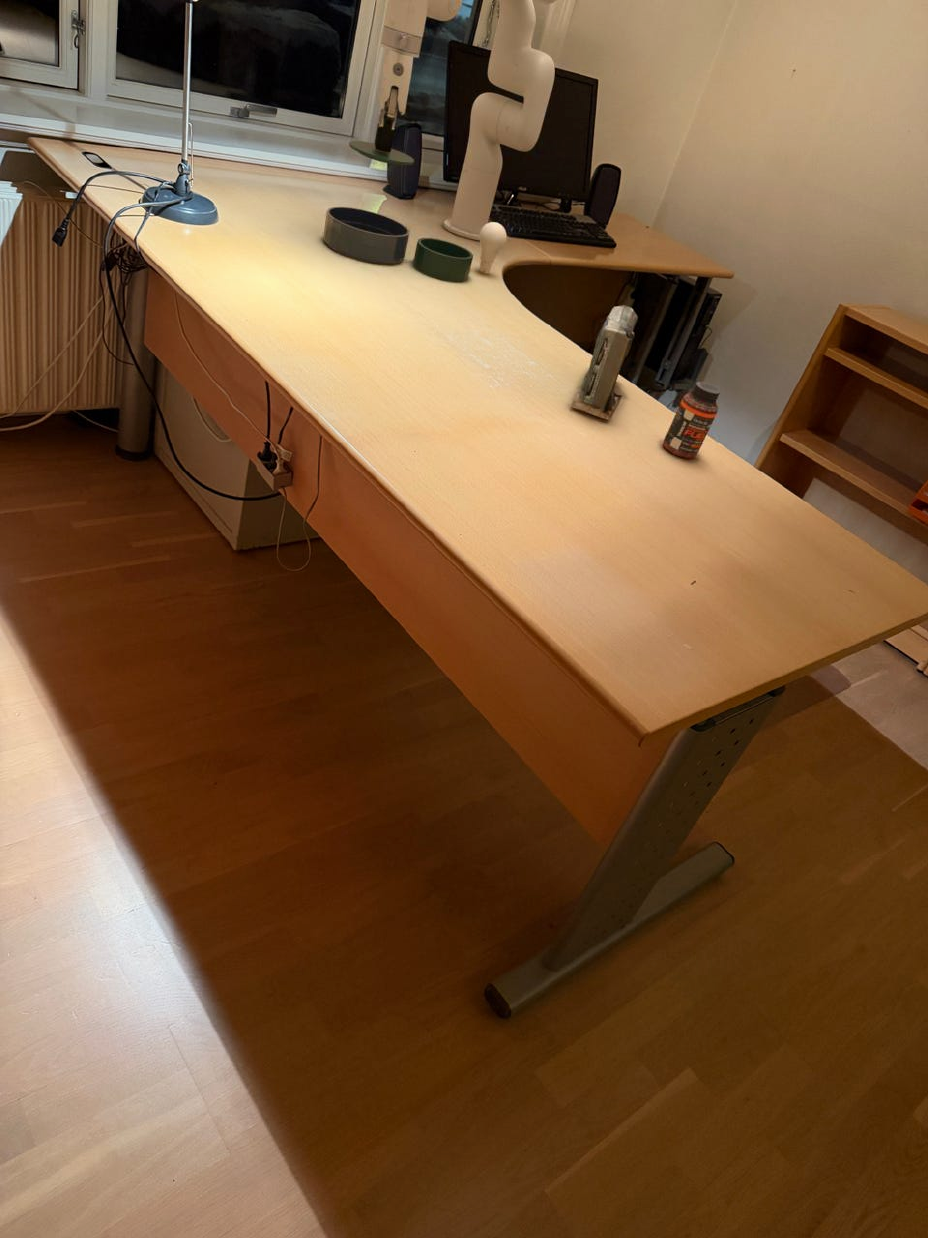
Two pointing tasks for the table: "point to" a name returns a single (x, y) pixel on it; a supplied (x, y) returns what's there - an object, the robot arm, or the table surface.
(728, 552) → the table surface
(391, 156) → the tin lid
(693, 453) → the supplement bottle
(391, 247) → the bowl
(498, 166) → the robot arm
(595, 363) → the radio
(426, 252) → the tin
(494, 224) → the lightbulb
